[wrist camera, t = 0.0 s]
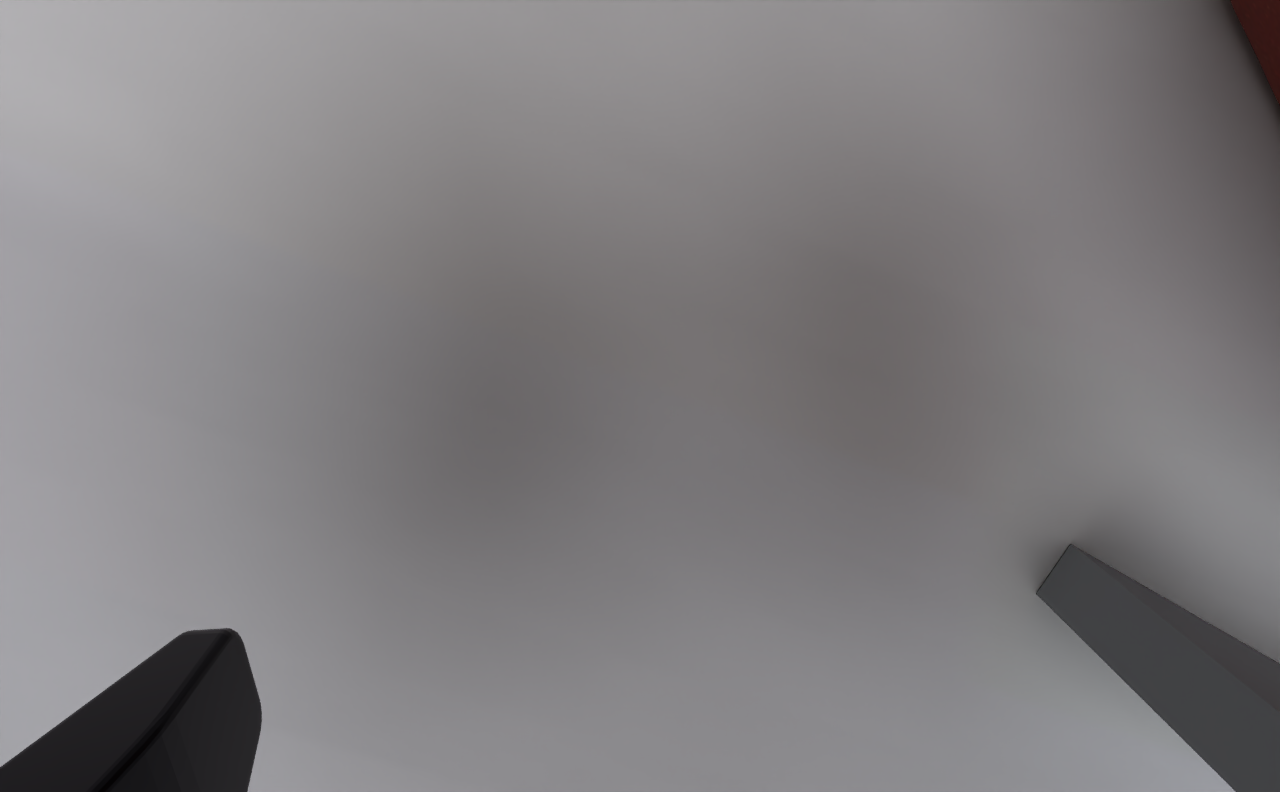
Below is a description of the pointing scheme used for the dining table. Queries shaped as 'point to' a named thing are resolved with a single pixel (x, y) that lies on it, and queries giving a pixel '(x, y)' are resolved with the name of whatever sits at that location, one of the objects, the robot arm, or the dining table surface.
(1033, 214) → the dining table surface
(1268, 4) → the plant pot
